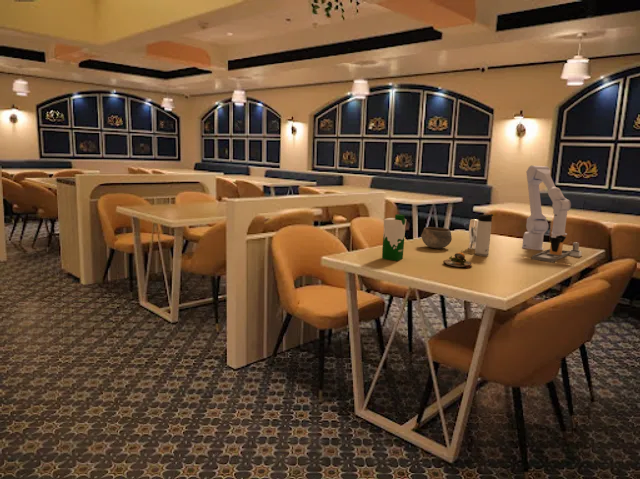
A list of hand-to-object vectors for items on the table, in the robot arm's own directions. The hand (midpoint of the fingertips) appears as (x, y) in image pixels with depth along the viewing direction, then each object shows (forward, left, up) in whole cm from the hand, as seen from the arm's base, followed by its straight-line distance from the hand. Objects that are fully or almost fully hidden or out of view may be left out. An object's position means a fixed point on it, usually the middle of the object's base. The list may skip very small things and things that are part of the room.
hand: (556, 250), depth 248 cm
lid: (0, -14, -2) cm, 15 cm away
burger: (-22, -64, -3) cm, 68 cm away
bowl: (-49, -32, -3) cm, 59 cm away
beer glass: (-35, -17, -3) cm, 39 cm away
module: (0, 0, -2) cm, 2 cm away
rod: (+8, +5, -2) cm, 9 cm away
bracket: (+8, +5, -2) cm, 9 cm away
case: (0, 0, -2) cm, 2 cm away
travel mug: (-25, -31, -3) cm, 40 cm away
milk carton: (-48, -75, -3) cm, 89 cm away
